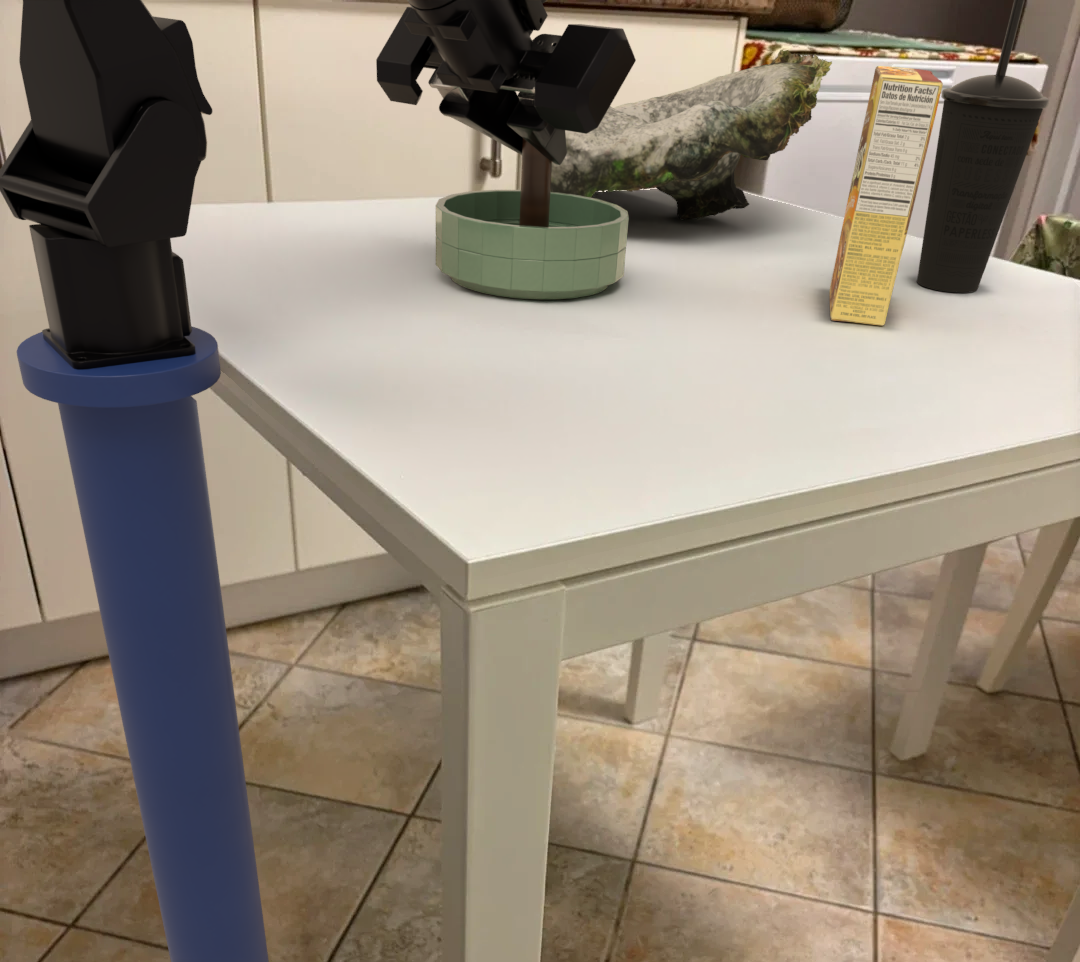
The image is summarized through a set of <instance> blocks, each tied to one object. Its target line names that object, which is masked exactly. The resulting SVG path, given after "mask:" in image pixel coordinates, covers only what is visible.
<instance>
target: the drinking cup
mask: <svg viewBox="0 0 1080 962" xmlns="http://www.w3.org/2000/svg"><path fill="white" fill-rule="evenodd" d="M1024 3H1025V0H1013V3H1012V8H1011V13H1010V15H1009V19H1008V24H1007V28H1006V32H1005V36H1004V40H1003V44H1002V48H1001V52H1000V56H999V59H998V64H997V67H996V72H995V74H986V75H985V74H984V75H978V76H975V77H971V78H968V79H965V80H962V81H960V82H958V83H956V84H955V85H953V86H952V87H947V88H944V89H942V90H941V94H940V98H941V99H942V100H943V104H942V105H943V106H942V111H941V118H940V125H939V130H938V131H939V132H938V139H937V145H936V152H935V159H934V163H933V173H932V179H931V184H930V191H929V198H928V204H927V211H926V218H925V224H924V225H925V226H924V231H923V236H922V237H923V238H922V244H921V251H920V257H919V264H918V271H917V277H916V283H917V284H918V285H919V286H921V287H923V288H927V289H930V290H934V291H940V292H946V293H957V294H958V293H959V294H967V293H973V292H976V291H978V289H979V287H980V283H981V281H982V279H983V276H984V273H985V270H986V267H987V265H988V262H989V259H990V256H991V253H992V251H993V248H994V245H995V242H996V240H997V237H998V235H999V232H1000V229H1001V227H1002V223H1003V221H1004V218H1005V216H1006V213H1007V210H1008V207H1009V205H1010V201H1011V198H1012V196H1013V193H1014V190H1015V187H1016V185H1017V182H1018V180H1019V177H1020V173H1021V171H1022V168H1023V165H1024V163H1025V160H1026V157H1027V154H1028V152H1029V149H1030V146H1031V144H1032V140H1033V137H1034V135H1035V132H1036V130H1037V126H1038V123H1039V121H1040V118H1041V116H1042V114H1043V113H1042V112H1043V110H1044V109H1046V108H1048V107H1049V104H1050V98H1048V97H1047V96H1045V95H1042V93H1041V92H1040V91H1039V90H1038V89H1036V87H1034V86H1033V85H1032V84H1029V82H1026V81H1024V80H1022V79H1019V78H1016V77H1013V76H1010V75H1006V74H1007V71H1008V66H1009V62H1010V59H1011V54H1012V50H1013V47H1014V42H1015V39H1016V35H1017V31H1018V27H1019V23H1020V20H1021V15H1022V12H1023V8H1024Z"/></svg>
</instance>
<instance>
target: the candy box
mask: <svg viewBox="0 0 1080 962" xmlns="http://www.w3.org/2000/svg"><path fill="white" fill-rule="evenodd" d="M873 74H874V75H873V79H872V83H871V88H870V93H869V97H868V102H867V107H866V110H865V115H864V116H865V117H864V122H863V125H862V131H861V135H860V139H859V144H858V149H857V153H856V158H855V163H854V168H853V171H852V177H851V183H850V187H849V192H848V197H847V202H846V205H845V211H844V212H845V213H844V217H843V221H842V227H841V231H840V235H839V236H840V237H839V241H838V247H837V252H836V257H835V261H834V266H833V271H832V276H831V281H830V285H829V311H830V312H829V314H830V315H829V316H830V321H833V322H844V323H845V322H846V323H856V324H865V325H874V326H884V325H885V324H886V320H887V315H888V312H889V308H890V305H891V299H892V295H893V292H894V287H895V283H896V279H897V275H898V271H899V268H900V263H901V259H902V255H903V250H904V247H905V244H906V238H907V235H908V231H909V227H910V224H911V223H910V222H911V220H912V219H911V218H912V215H913V210H914V206H915V202H916V198H917V194H918V189H919V186H920V181H921V177H922V173H923V169H924V164H925V161H926V160H925V159H926V158H927V157H926V156H927V153H928V148H929V144H930V142H931V141H930V140H931V136H932V132H933V128H934V124H935V120H936V115H937V111H938V107H939V103H940V98H941V95H942V91H943V86H944V85H943V84H944V83H943V81H942V80H941V79H939V78H938V77H937V76H935V74H933V72H932V70H926V69H919V68H911V67H899V66H887V65H877V66H876V67H875V69H874V72H873Z"/></svg>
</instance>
